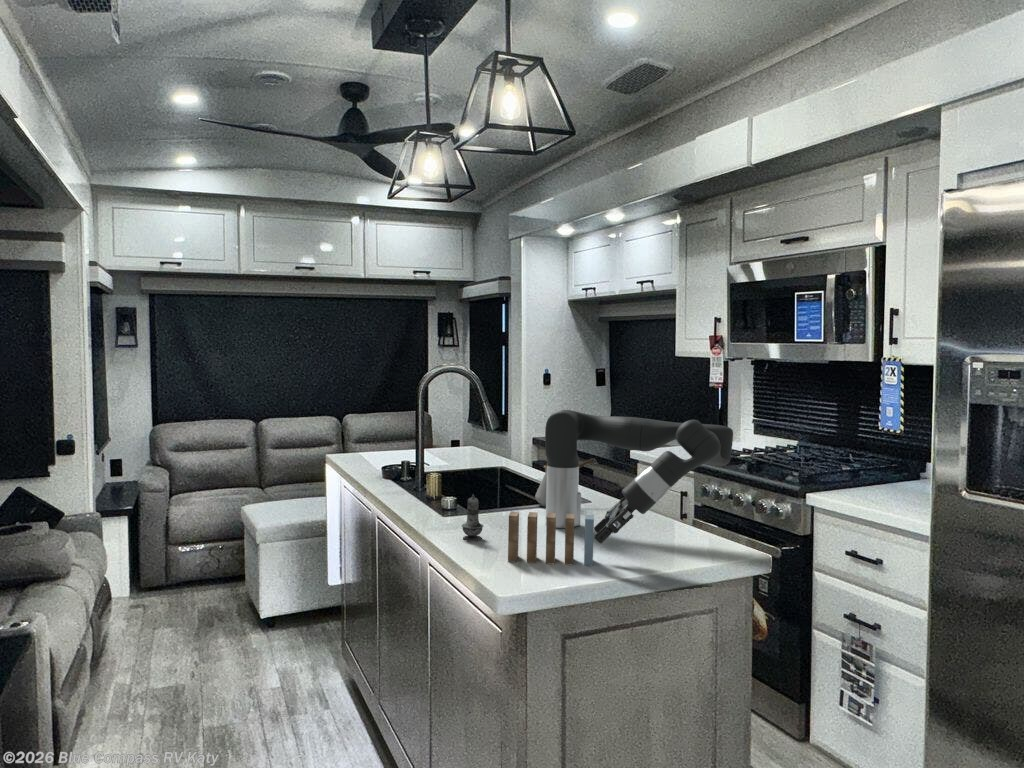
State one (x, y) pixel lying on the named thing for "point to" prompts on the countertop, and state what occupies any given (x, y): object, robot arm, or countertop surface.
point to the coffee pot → (543, 486)
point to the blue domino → (589, 539)
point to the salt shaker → (472, 521)
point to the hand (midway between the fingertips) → (596, 535)
